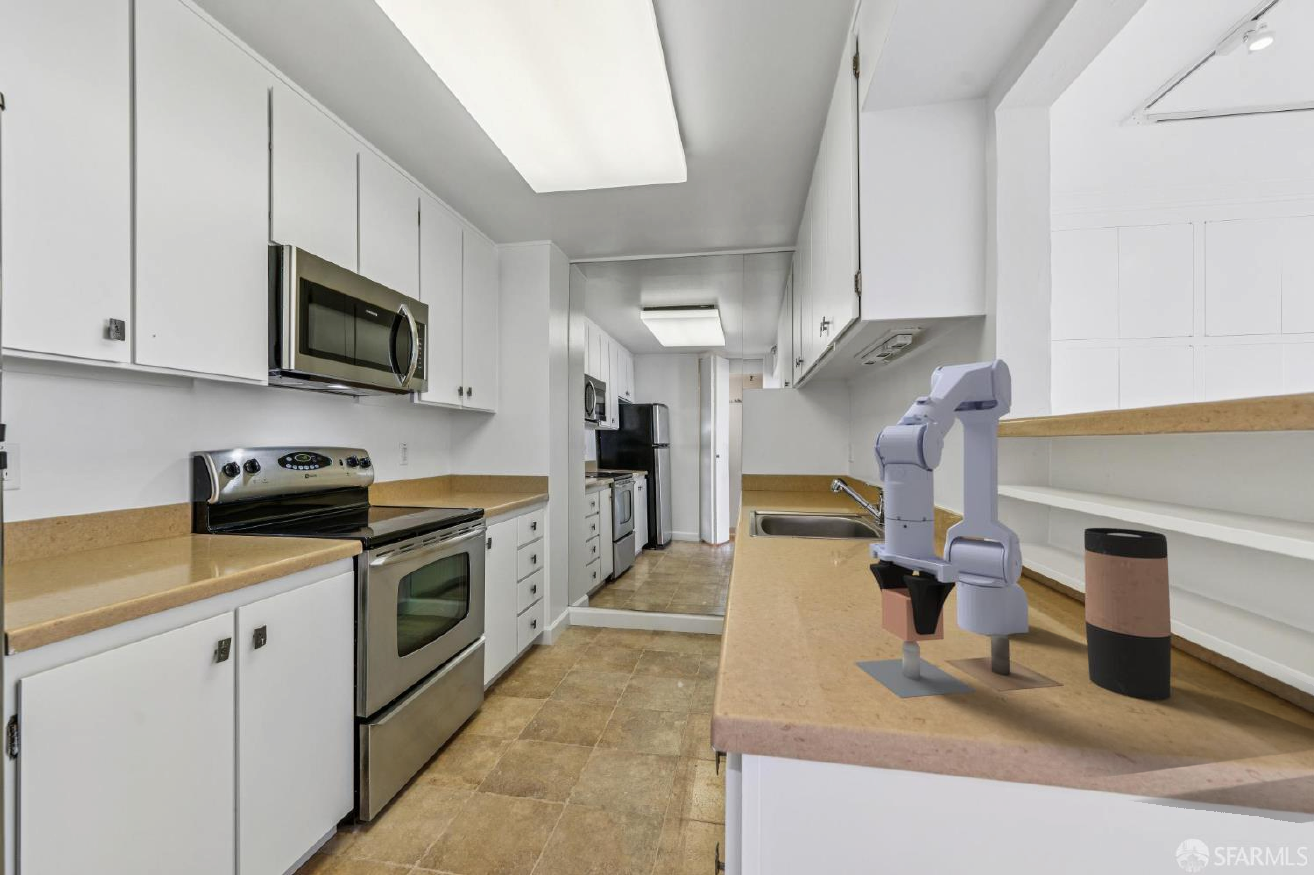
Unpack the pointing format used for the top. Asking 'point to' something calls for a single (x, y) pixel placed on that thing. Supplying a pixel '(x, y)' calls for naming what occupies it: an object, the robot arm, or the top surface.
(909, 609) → the collar
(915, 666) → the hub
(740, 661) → the top surface
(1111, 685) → the travel mug
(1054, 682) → the stand
